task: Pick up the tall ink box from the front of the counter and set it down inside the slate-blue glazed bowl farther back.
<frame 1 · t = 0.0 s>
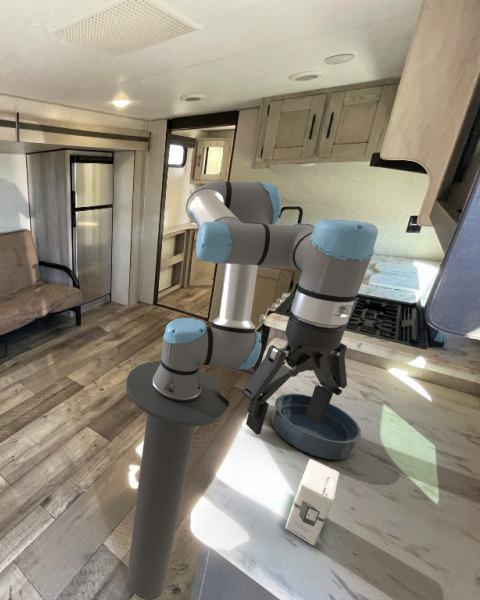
hand: (284, 423, 59), 20 cm above the counter, tool pointing down, fingers open, 13 cm apart
bowl: (309, 433, 85), on the counter
ink box: (303, 522, 63), on the counter
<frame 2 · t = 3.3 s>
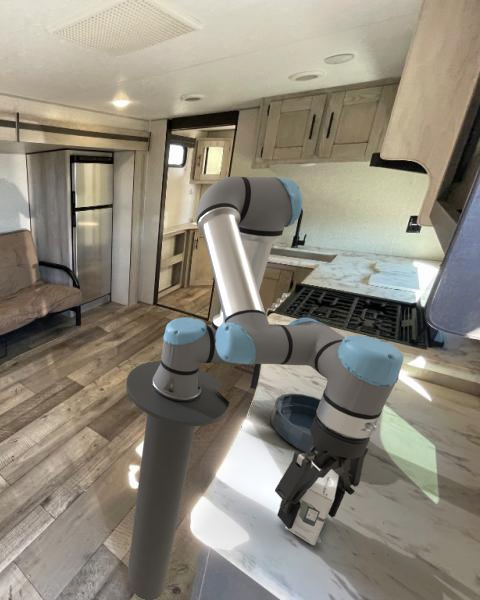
hand: (305, 515, 63), 2 cm above the counter, tool pointing down, fingers closed on ink box, 9 cm apart
ink box: (303, 522, 63), on the counter, touching gripper
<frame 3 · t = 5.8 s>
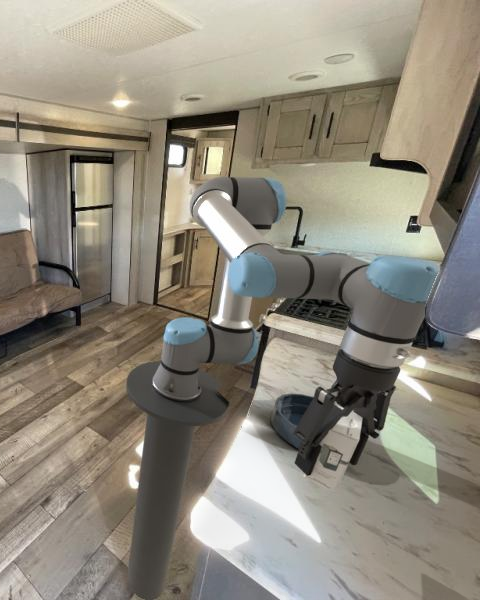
hand: (325, 463, 58), 15 cm above the counter, tool pointing down, fingers closed on ink box, 9 cm apart
ink box: (322, 471, 59), point 13 cm above the counter, touching gripper
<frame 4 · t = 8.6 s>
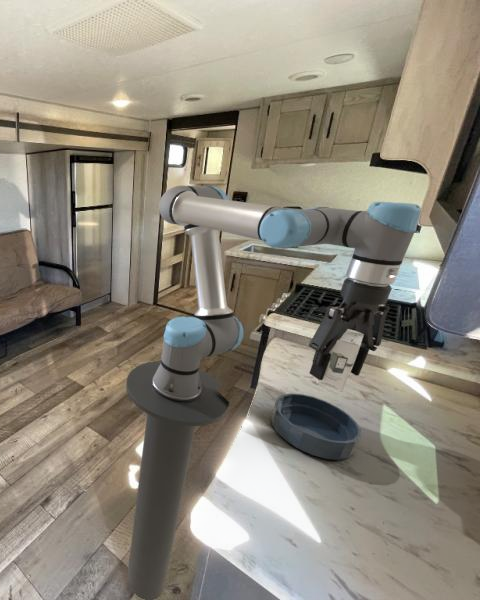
hand: (334, 374, 74), 21 cm above the counter, tool pointing down, fingers closed on ink box, 9 cm apart
ink box: (331, 381, 74), point 20 cm above the counter, touching gripper
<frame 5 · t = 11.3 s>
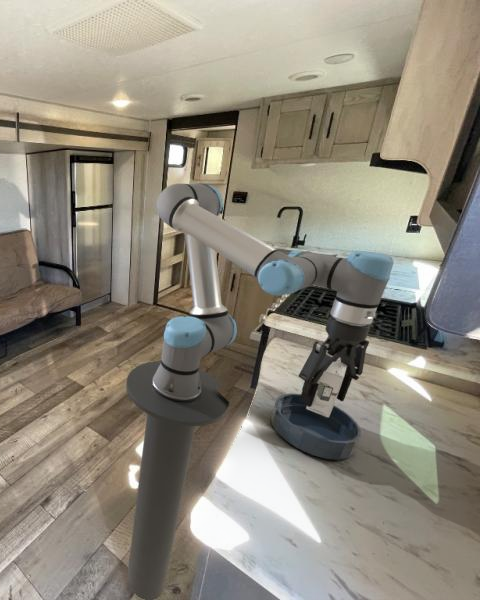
hand: (321, 400, 81), 11 cm above the counter, tool pointing down, fingers closed on ink box, 9 cm apart
ink box: (319, 406, 82), point 9 cm above the counter, touching gripper
when the fingers open (2 cm above the counter, at t = 13.8 s): ink box stays where it is, resting on bowl.
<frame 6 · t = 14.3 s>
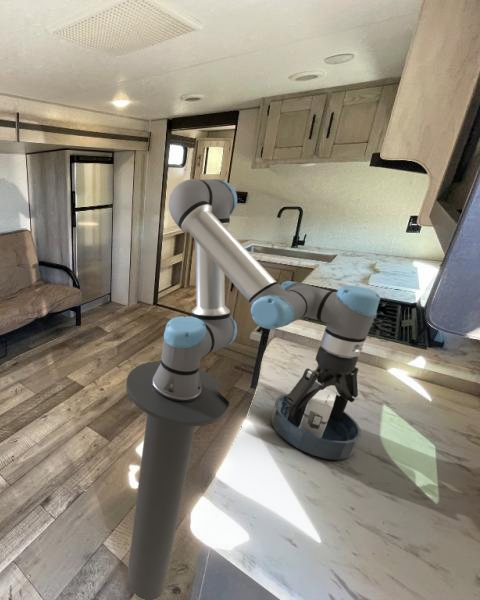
hand: (313, 422, 84), 4 cm above the counter, tool pointing down, fingers open, 13 cm apart
ink box: (310, 432, 85), point 1 cm above the counter, touching bowl
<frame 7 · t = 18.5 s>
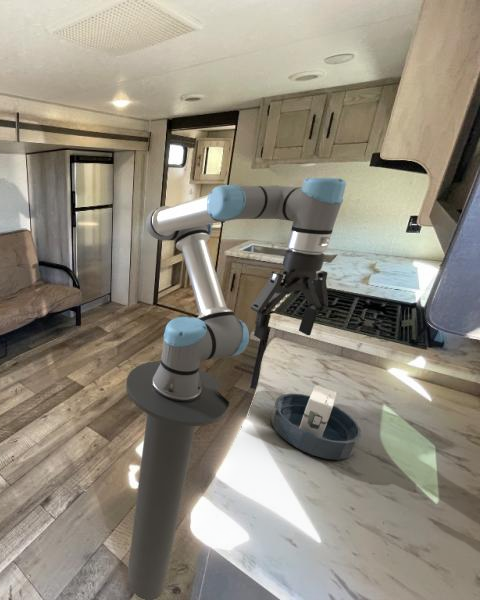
hand: (282, 335, 80), 27 cm above the counter, tool pointing down, fingers open, 13 cm apart
nothing on the counter moved.
at the end: ink box inside the target area in the bowl (0.1 cm from its centre), point 0.6 cm above the bowl's base; the gripper is holding nothing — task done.
